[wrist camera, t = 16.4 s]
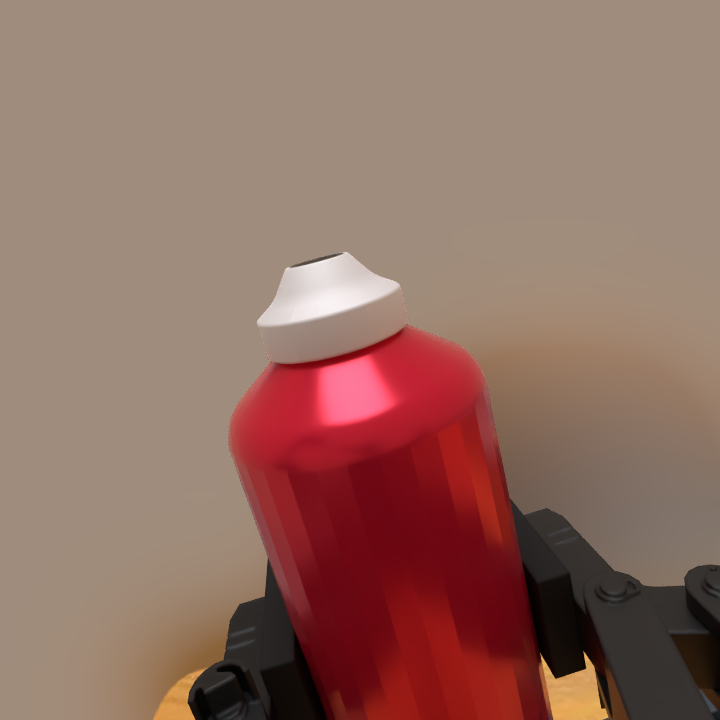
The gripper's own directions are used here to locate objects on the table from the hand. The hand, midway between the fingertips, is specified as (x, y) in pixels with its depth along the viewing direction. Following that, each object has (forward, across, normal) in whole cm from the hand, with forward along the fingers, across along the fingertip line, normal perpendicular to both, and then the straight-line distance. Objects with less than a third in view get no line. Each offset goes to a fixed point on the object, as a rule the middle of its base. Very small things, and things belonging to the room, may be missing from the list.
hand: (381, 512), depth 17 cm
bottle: (-5, 0, -11) cm, 12 cm away
